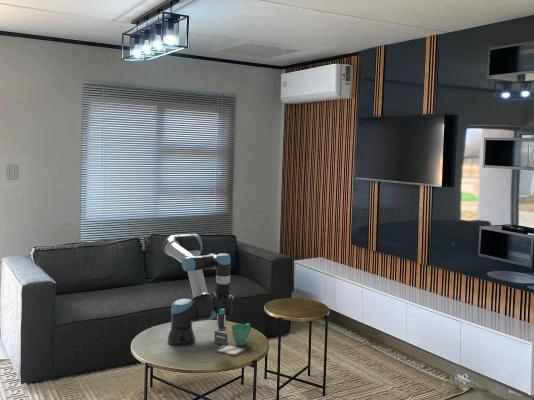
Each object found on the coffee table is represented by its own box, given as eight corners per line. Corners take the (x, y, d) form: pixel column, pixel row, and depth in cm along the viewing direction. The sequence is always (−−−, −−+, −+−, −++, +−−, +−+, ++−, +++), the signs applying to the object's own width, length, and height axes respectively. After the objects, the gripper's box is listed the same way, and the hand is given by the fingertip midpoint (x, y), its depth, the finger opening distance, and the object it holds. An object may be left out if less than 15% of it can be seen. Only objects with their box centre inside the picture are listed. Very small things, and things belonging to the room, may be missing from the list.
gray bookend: (213, 342, 322) (213, 331, 321) (216, 340, 324) (216, 330, 324) (225, 344, 318) (225, 334, 317) (228, 343, 320) (228, 332, 320)
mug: (243, 347, 314) (243, 330, 313) (228, 344, 318) (228, 327, 317) (256, 340, 327) (256, 323, 326) (241, 337, 331) (241, 320, 330)
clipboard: (215, 351, 307) (215, 349, 307) (225, 345, 316) (226, 343, 316) (235, 356, 301) (235, 354, 301) (246, 350, 310) (246, 347, 310)
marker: (221, 328, 309) (221, 308, 308) (227, 329, 307) (227, 309, 306) (216, 330, 305) (217, 309, 304) (223, 331, 303) (223, 311, 302)
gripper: (205, 282, 304) (205, 324, 307) (232, 286, 296) (231, 330, 298) (213, 279, 311) (213, 321, 313) (240, 283, 303) (239, 326, 305)
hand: (222, 325), depth 306 cm, fingers closed on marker, 4 cm apart
